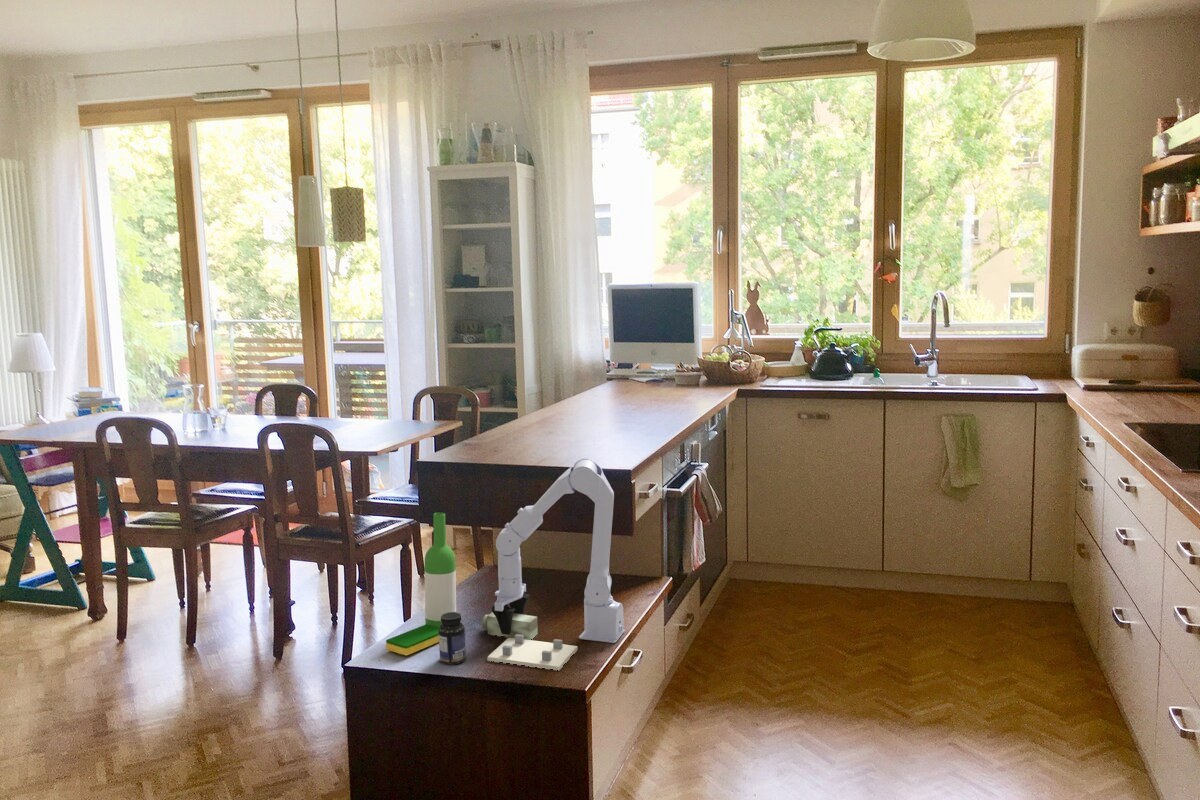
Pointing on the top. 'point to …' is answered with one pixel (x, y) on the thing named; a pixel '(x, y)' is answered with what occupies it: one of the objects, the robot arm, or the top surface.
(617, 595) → the top surface
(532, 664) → the cradle jig
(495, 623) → the tall single-stud brick
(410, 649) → the dish sponge
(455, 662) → the pill bottle
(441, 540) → the wine bottle
